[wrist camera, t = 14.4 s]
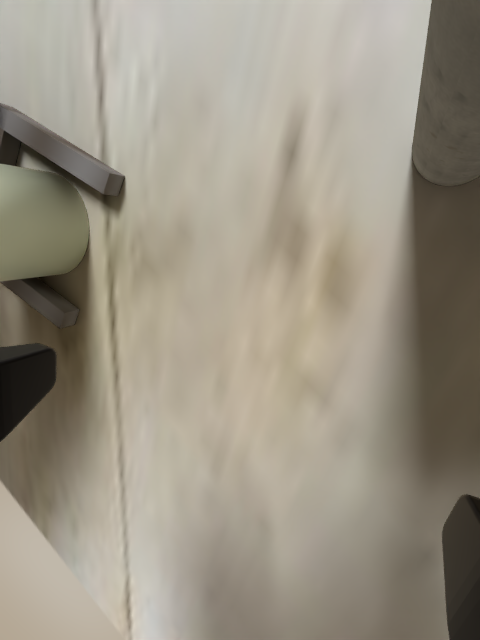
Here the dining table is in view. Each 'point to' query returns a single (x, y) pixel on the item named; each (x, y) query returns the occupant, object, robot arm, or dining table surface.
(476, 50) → the hip flask
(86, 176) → the walnut overhang
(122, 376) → the dining table surface
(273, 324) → the dining table surface
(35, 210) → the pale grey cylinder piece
